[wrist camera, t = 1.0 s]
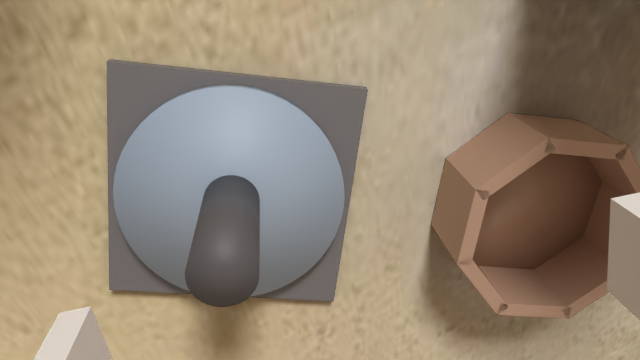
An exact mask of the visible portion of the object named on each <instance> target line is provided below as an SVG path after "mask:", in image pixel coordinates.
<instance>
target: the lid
mask: <svg viewBox="0 0 640 360" xmlns="http://www.w3.org/2000/svg"><path fill="white" fill-rule="evenodd" d="M344 197H345V195H344V181H343V176H342V171H341V168H340V165H339V162H338V159H337V156H336V154H335V151H334V149H333V147H332V145H331V143H330V141H329V139H328V138H327V136H326V135H325V133H324V132H323V131H322V129H321V128H320V126H319V125H318V124H317V123H316V122H315V121H314V120H313V119H312V118H311V117H310V116H309V115H308V114H307V113H305V112H304V111H303V110H302V109H301V108H299V107H298V106H296V105H295V104H293V103H292V102H290V101H288V100H287V99H285V98H283V97H281V96H279V95H276V94H274V93H272V92H269V91H266V90H262V89H259V88H255V87H250V86H244V85H228V84H223V85H212V86H206V87H201V88H197V89H193V90H190V91H187V92H185V93H182V94H179V95H177V96H175V97H173V98H172V99H170V100H168V101H166V102H164V103H163V104H162V105H160V106H159V107H157V108H156V109H155V110H153V111H152V112H151V113H150V114H149V115H148V116H147V117H146V118H145V119H144V120H143V121H142V122H141V123H140V125H139V126H138V127H137V128H136V130H135V131H134V132H133V134H132V135H131V136H130V138H129V139H128V141H127V143H126V145H125V147H124V148H123V150H122V152H121V155H120V158H119V160H118V163H117V166H116V171H115V176H114V185H113V198H114V208H115V212H116V216H117V220H118V223H119V226H120V228H121V231H122V233H123V235H124V237H125V239H126V240H127V242H128V244H129V246H130V247H131V248H132V250H133V251H134V252H135V254H136V255H137V256H138V257H139V258H140V260H141V261H142V262H143V263H144V264H145V265H146V266H147V267H148V268H150V269H151V270H152V271H153V272H155V273H156V274H157V275H158V276H160V277H162V278H163V279H165V280H166V281H168V282H170V283H172V284H174V285H176V286H178V287H180V288H182V289H185V290H188V291H190V292H191V293H192V294H193V295H194V296H195V297H196V298H197V299H198V300H200V301H202V302H204V303H206V304H208V305H212V306H217V307H227V306H233V305H236V304H239V303H241V302H243V301H245V300H246V299H247V298H249V297H251V296H256V295H260V294H265V293H268V292H271V291H274V290H276V289H279V288H281V287H283V286H285V285H287V284H289V283H291V282H293V281H294V280H296V279H298V278H299V277H301V276H302V275H303V274H305V273H306V272H307V271H308V270H310V269H311V268H312V267H313V266H314V265H315V264H316V263H317V262H318V261H319V260H320V259H321V258H322V256H323V255H324V253H325V252H326V251H327V249H328V248H329V247H330V245H331V243H332V241H333V239H334V237H335V236H336V233H337V230H338V228H339V225H340V223H341V218H342V214H343V209H344Z"/></svg>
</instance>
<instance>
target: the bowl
mask: <svg viewBox="0 0 640 360" xmlns="http://www.w3.org/2000/svg"><path fill="white" fill-rule="evenodd" d="M639 192H640V166H639V165H638V163H637V161H636V159H635V157H634V156H633V154H632V152H631V150H630V148H629V147H628V145H626V144H624V143H622V142H620V141H618V140H616V139H614V138H612V137H610V136H608V135H606V134H604V133H602V132H600V131H598V130H596V129H594V128H592V127H590V126H588V125H586V124H584V123H582V122H580V121H578V120H572V119H562V118H553V117H543V116H534V115H524V114H515V113H507V114H505V115H504V116H503V117H501V118H500V119H498V120H497V121H496V122H494V123H493V124H492V125H490V126H489V127H487V128H486V129H485V130H483V131H482V132H481V133H479V134H478V135H477V136H475V137H474V138H472V139H471V140H470V141H468V142H467V143H466V144H464V145H463V146H462V147H460V148H459V149H457V150H456V151H455V152H453V153H452V154H451V155H449V156H448V157H446V159H445V164H444V168H443V173H442V177H441V182H440V186H439V191H438V195H437V200H436V204H435V209H434V213H433V218H432V222H431V225H432V226H433V228H434V230H435V231H436V233H437V234H438V236H439V237H440V239H441V240H442V242H443V243H444V245H445V247H446V248H447V250H448V251H449V253H450V254H451V256H452V257H453V259H454V260H455V262H456V264H457V265H458V266H459V267H460V268H461V270H462V271H463V272H464V274H465V275H466V276H467V277H468V279H469V280H470V281H471V282H472V284H473V285H474V286H475V287H476V289H477V290H478V291H479V293H480V294H481V295H482V296H483V298H484V299H485V300H486V301H487V303H488V304H489V305H490V307H491V308H492V309H493V310H494V312H495V313H496V314H497V315H510V316H530V317H550V318H570V317H571V316H573V315H574V314H576V313H577V312H579V311H580V310H582V309H583V308H585V307H586V306H588V305H590V304H591V303H593V302H594V301H596V300H597V299H599V298H600V297H602V296H603V295H605V294H606V293H608V292H609V291H608V290H607V273H608V250H609V227H610V203H611V198H615V197H620V196H625V195H630V194H635V193H639Z"/></svg>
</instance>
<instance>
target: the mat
mask: <svg viewBox="0 0 640 360" xmlns="http://www.w3.org/2000/svg"><path fill="white" fill-rule="evenodd" d="M223 84H228V85H244V86H250V87H255V88H259V89H262V90H266V91H269V92H272V93H274V94H276V95H279V96H281V97H283V98H285V99H287V100H288V101H290V102H292V103H293V104H295V105H296V106H298V107H299V108H301V109H302V110H303V111H304V112H305V113H307V114H308V115H309V116H310V117H311V118H312V119H313V120H314V121H315V122H316V123H317V124H318V125H319V126H320V128H321V129H322V131H323V132H324V133H325V135H326V136H327V138H328V139H329V141H330V143H331V145H332V147H333V149H334V151H335V154H336V156H337V159H338V162H339V165H340V168H341V171H342V176H343V181H344V195H345V197H344V209H343V214H342V218H341V223H340V225H339V228H338V230H337V233H336V236H335V237H334V239H333V241H332V243H331V245H330V247H329V248H328V249H327V251H326V252H325V253H324V255H323V256H322V258H321V259H320V260H319V261H318V262H317V263H316V264H315V265H314V266H313V267H312V268H311V269H310V270H308V271H307V272H306V273H305V274H303V275H302V276H301V277H299V278H298V279H296V280H294V281H293V282H291V283H289V284H287V285H285V286H283V287H281V288H279V289H276V290H274V291H271V292H268V293H265V294H260V295H256V296H251V297H257V298H276V299H296V300H315V301H334V295H335V289H336V283H337V276H338V270H339V264H340V258H341V252H342V245H343V239H344V233H345V227H346V221H347V214H348V208H349V202H350V196H351V190H352V183H353V177H354V171H355V165H356V159H357V152H358V146H359V140H360V134H361V128H362V121H363V115H364V109H365V103H366V97H367V90H368V89H367V88H366V87H359V86H350V85H341V84H331V83H322V82H313V81H304V80H295V79H285V78H276V77H267V76H258V75H249V74H239V73H230V72H221V71H212V70H203V69H193V68H184V67H175V66H166V65H156V64H147V63H138V62H129V61H120V60H108V61H107V125H108V211H109V290H122V291H141V292H161V293H180V294H192V293H191V292H190V291H188V290H185V289H182V288H180V287H178V286H176V285H174V284H172V283H170V282H168V281H166V280H165V279H163V278H162V277H160V276H158V275H157V274H156V273H155V272H153V271H152V270H151V269H150V268H148V267H147V266H146V265H145V264H144V263H143V262H142V261H141V260H140V258H139V257H138V256H137V255H136V254H135V252H134V251H133V250H132V248H131V247H130V246H129V244H128V242H127V240H126V239H125V237H124V235H123V233H122V231H121V228H120V226H119V223H118V220H117V216H116V212H115V208H114V198H113V185H114V176H115V171H116V166H117V163H118V160H119V158H120V155H121V152H122V150H123V148H124V147H125V145H126V143H127V141H128V139H129V138H130V136H131V135H132V134H133V132H134V131H135V130H136V128H137V127H138V126H139V125H140V123H141V122H142V121H143V120H144V119H145V118H146V117H147V116H148V115H149V114H150V113H151V112H152V111H153V110H155V109H156V108H157V107H159V106H160V105H162V104H163V103H164V102H166V101H168V100H170V99H172V98H173V97H175V96H177V95H179V94H182V93H185V92H187V91H190V90H193V89H197V88H201V87H206V86H212V85H223Z"/></svg>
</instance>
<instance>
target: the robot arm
mask: <svg viewBox="0 0 640 360" xmlns="http://www.w3.org/2000/svg"><path fill="white" fill-rule="evenodd" d="M607 290H608V291H609V292H610V293H611V294H612V295H613V296H614V297H615V298H617V299H618V300H619V301H620V302H621V303H622V304H623V305H624V306H625V307H626V308H627V309H628V310H629V311H630V312H631V313H632V314H634V315H635V316H636V317H637V318H638V319H639V320H640V192H639V193H635V194H630V195H625V196H620V197H615V198H611V203H610V227H609V250H608V273H607ZM34 360H113V359H112V357H111V354H110V352H109V350H108V347H107V345H106V342H105V340H104V337H103V335H102V332H101V330H100V327H99V325H98V322H97V320H96V318H95V315H94V313H93V310H92V308H91V306H90V307H85V308H80V309H75V310H71V311H66V312H61V313H59V314H58V316H57V318H56V320H55V322H54V324H53V325H52V327H51V329H50V331H49V333H48V334H47V336H46V338H45V340H44V342H43V344H42V345H41V347H40V349H39V351H38V353H37V354H36V356H35V358H34Z"/></svg>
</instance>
